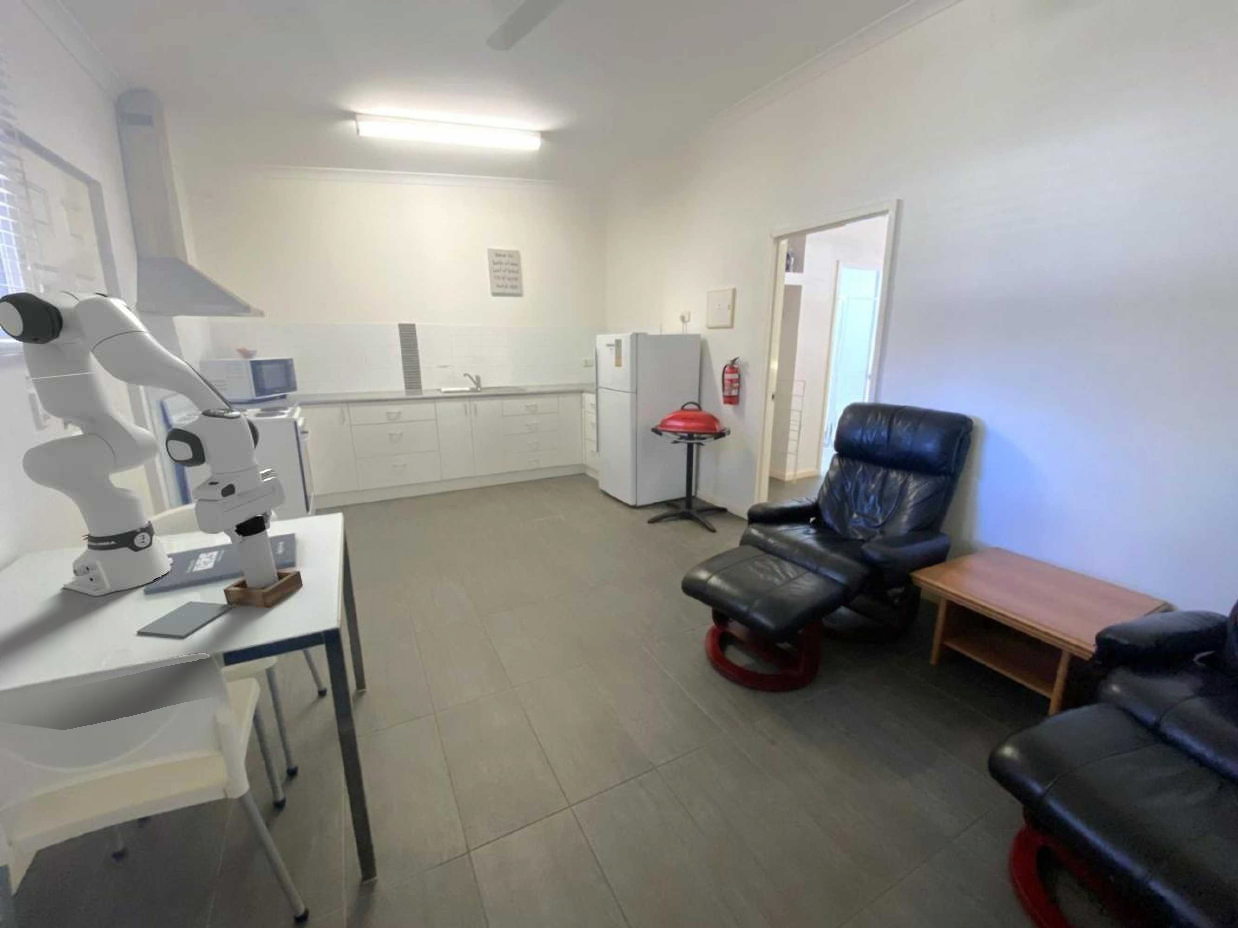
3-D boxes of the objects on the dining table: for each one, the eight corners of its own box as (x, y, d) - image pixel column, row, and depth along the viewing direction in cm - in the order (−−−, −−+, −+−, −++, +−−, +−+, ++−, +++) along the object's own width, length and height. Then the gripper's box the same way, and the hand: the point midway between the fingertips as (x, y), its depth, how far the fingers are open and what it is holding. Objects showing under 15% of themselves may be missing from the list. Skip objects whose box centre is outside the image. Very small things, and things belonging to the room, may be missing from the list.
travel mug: (266, 602, 121) (247, 524, 115) (243, 600, 122) (223, 522, 117) (288, 589, 127) (270, 514, 121) (265, 586, 128) (247, 512, 123)
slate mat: (137, 633, 110) (136, 631, 110) (190, 603, 122) (190, 601, 121) (184, 637, 108) (183, 635, 108) (234, 606, 120) (233, 604, 119)
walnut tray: (227, 604, 121) (223, 589, 120) (263, 582, 131) (259, 568, 129) (269, 607, 119) (265, 592, 118) (302, 585, 129) (299, 570, 128)
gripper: (263, 466, 127) (275, 518, 131) (183, 494, 107) (200, 554, 111) (286, 467, 126) (297, 519, 130) (209, 495, 106) (225, 555, 110)
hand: (251, 535), depth 120 cm, fingers closed on travel mug, 6 cm apart
